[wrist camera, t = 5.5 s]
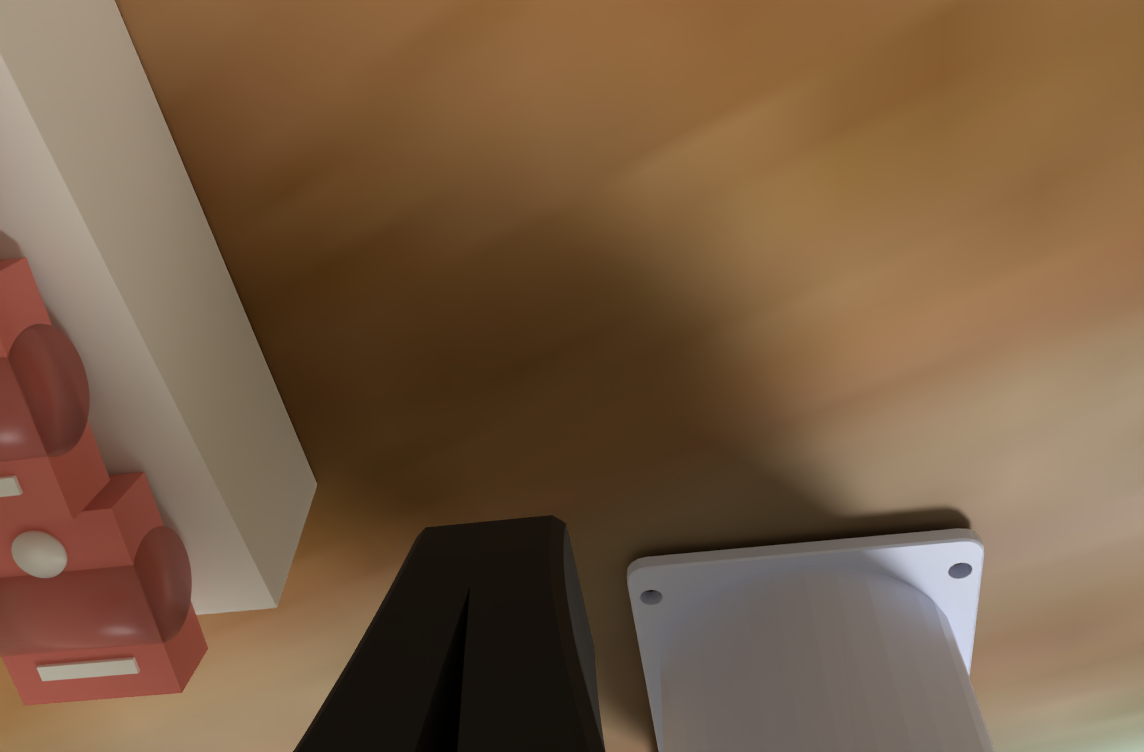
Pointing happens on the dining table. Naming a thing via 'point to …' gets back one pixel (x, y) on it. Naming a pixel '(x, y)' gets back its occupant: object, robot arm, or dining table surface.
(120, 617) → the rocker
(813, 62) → the dining table surface
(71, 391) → the red stepped block
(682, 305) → the dining table surface
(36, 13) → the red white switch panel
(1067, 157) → the dining table surface
